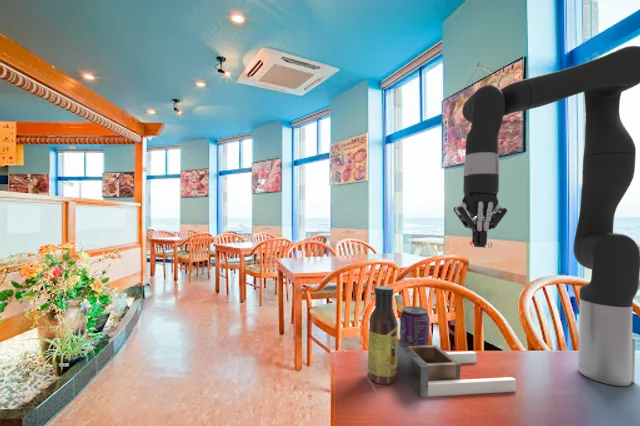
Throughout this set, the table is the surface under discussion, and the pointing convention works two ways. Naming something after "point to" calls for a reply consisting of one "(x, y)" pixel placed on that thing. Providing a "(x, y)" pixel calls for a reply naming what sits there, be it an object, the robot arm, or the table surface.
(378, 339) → the sauce bottle
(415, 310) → the beverage can
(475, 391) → the bay
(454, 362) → the crate
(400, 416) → the table surface
